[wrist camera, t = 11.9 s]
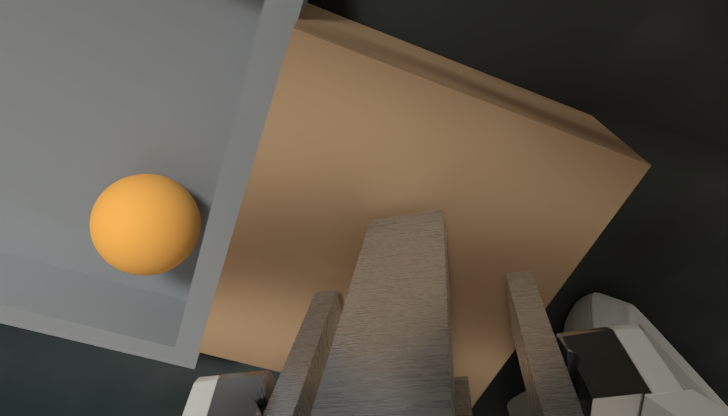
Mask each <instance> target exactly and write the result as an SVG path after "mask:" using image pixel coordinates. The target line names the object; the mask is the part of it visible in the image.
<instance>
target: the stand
mask: <svg viewBox="0 0 728 416" xmlns="http://www.w3.org/2000/svg"><path fill="white" fill-rule="evenodd" d="M650 167H651V165H650V164H649V163H648V162H647V161H645V160H644V159H643V158H642V157H641V156H639V155H638V154H637V153H636V152H635V151H633V150H632V149H631V148H630V147H629V146H627V145H626V144H625V143H624V142H623V141H622V140H620V139H619V138H618V137H617V136H616V135H614V134H613V133H612V132H611V131H610V130H608V129H607V128H606V127H605V126H604V125H602V124H601V123H600V122H599V121H598V120H596V119H595V118H594V117H593V116H592V115H589V114H587V113H584V112H582V111H579V110H576V109H574V108H571V107H569V106H566V105H564V104H561V103H559V102H556V101H554V100H551V99H549V98H546V97H544V96H541V95H539V94H536V93H534V92H531V91H529V90H526V89H524V88H521V87H518V86H516V85H513V84H511V83H508V82H506V81H503V80H501V79H498V78H496V77H493V76H491V75H488V74H486V73H483V72H481V71H478V70H476V69H473V68H471V67H468V66H465V65H463V64H460V63H458V62H455V61H453V60H450V59H448V58H445V57H443V56H440V55H438V54H435V53H433V52H430V51H428V50H425V49H423V48H420V47H418V46H415V45H413V44H410V43H407V42H405V41H402V40H400V39H397V38H395V37H392V36H390V35H387V34H385V33H382V32H380V31H377V30H375V29H372V28H370V27H367V26H365V25H362V24H360V23H357V22H355V21H352V20H349V19H347V18H344V17H342V16H339V15H337V14H334V13H332V12H329V11H327V10H324V9H322V8H319V7H317V6H314V5H312V4H309V3H307V5H306V6H305V8H304V10H303V11H302V13H301V15H300V17H299V18H298V20H297V22H296V23H295V25H294V27H293V29H292V33H291V36H290V39H289V43H288V46H287V50H286V53H285V57H284V60H283V63H282V67H281V70H280V74H279V77H278V80H277V84H276V87H275V91H274V94H273V98H272V101H271V104H270V108H269V111H268V115H267V118H266V121H265V125H264V128H263V132H262V135H261V138H260V142H259V145H258V149H257V152H256V156H255V159H254V162H253V166H252V169H251V173H250V176H249V179H248V183H247V186H246V190H245V193H244V197H243V200H242V203H241V207H240V210H239V214H238V217H237V220H236V224H235V227H234V231H233V234H232V237H231V241H230V244H229V248H228V251H227V255H226V258H225V261H224V265H223V268H222V272H221V275H220V278H219V282H218V285H217V289H216V292H215V296H214V299H213V302H212V306H211V309H210V313H209V316H208V319H207V323H206V326H205V330H204V333H203V336H202V340H201V343H200V347H199V350H198V352H200V353H204V354H208V355H212V356H216V357H220V358H224V359H228V360H232V361H237V362H241V363H245V364H249V365H253V366H257V367H261V368H265V369H269V370H273V371H277V372H281V371H282V369H283V367H284V364H285V362H286V360H287V357H288V355H289V353H290V350H291V348H292V345H293V343H294V341H295V338H296V336H297V334H298V331H299V329H300V327H301V324H302V322H303V320H304V317H305V315H306V312H307V310H308V308H309V305H310V303H311V301H312V298H313V296H314V294H315V293H317V292H327V291H337V295H338V300H339V304H340V308H341V312H342V311H343V307H344V304H345V301H346V298H347V294H348V291H349V288H350V284H351V281H352V278H353V275H354V271H355V268H356V265H357V262H358V258H359V255H360V252H361V249H362V245H363V242H364V239H365V236H366V232H367V229H368V226H369V223H370V219H378V218H386V217H393V216H401V215H409V214H416V213H424V212H432V211H439V210H443V213H444V220H445V226H446V234H447V253H448V272H449V291H450V310H451V329H452V348H453V367H454V377H463V376H468V381H469V388H470V395H471V405H472V407H473V405H474V404H475V403H476V401H477V400H478V399H479V397H480V396H481V395H482V393H483V392H484V391H485V389H486V388H487V387H488V385H489V384H490V383H491V381H492V380H493V379H494V377H495V376H496V374H497V373H498V372H499V370H500V369H501V368H502V366H503V365H504V364H505V362H506V361H507V360H508V358H509V357H510V356H511V354H512V353H513V352H514V350H515V349H516V347H515V343H514V339H513V335H512V327H511V318H510V309H509V299H508V290H507V281H506V273H512V272H521V271H531V273H532V276H533V278H534V281H535V284H536V286H537V289H538V292H539V295H540V297H541V300H542V303H543V305H544V308H546V307H547V306H548V304H549V303H550V302H551V300H552V299H553V298H554V296H555V295H556V294H557V292H558V291H559V289H560V288H561V287H562V285H563V284H564V283H565V281H566V280H567V279H568V277H569V276H570V275H571V273H572V272H573V271H574V269H575V268H576V267H577V265H578V264H579V263H580V261H581V260H582V258H583V257H584V256H585V254H586V253H587V252H588V250H589V249H590V248H591V246H592V245H593V244H594V242H595V241H596V240H597V238H598V237H599V236H600V234H601V233H602V231H603V230H604V229H605V227H606V226H607V225H608V223H609V222H610V221H611V219H612V218H613V217H614V215H615V214H616V213H617V211H618V210H619V209H620V207H621V206H622V205H623V203H624V202H625V200H626V199H627V198H628V196H629V195H630V194H631V192H632V191H633V190H634V188H635V187H636V186H637V184H638V183H639V182H640V180H641V179H642V178H643V176H644V175H645V174H646V172H647V171H648V169H649V168H650Z"/></svg>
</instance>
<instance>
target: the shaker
mask: <svg viewBox="0 0 728 416" xmlns="http://www.w3.org/2000/svg"><path fill="white" fill-rule="evenodd" d="M506 281H507V290H508V299H509V309H510V318H511V327H512V335H513V339H514V343H515V347H516V351H517V356H518V360H519V364H520V368H521V372H522V377H523V381H524V385H525V389H526V393H527V397H528V402H529V406H530V410H531V414H532V416H584V414H583V411H582V409H581V406H580V403H579V400H578V398H577V395H576V392H575V390H574V387H573V384H572V381H571V379H570V376H569V373H568V371H567V368H566V365H565V362H564V360H563V357H562V354H561V352H560V349H559V346H558V343H557V341H556V338H555V335H554V333H553V330H552V327H551V324H550V322H549V319H548V316H547V314H546V311H545V308H544V305H543V303H542V300H541V297H540V295H539V292H538V289H537V286H536V284H535V281H534V278H533V276H532V273H531V271H521V272H512V273H506ZM263 416H472V405H471V395H470V388H469V381H468V376H463V377H454V367H453V348H452V329H451V310H450V291H449V272H448V253H447V234H446V226H445V220H444V213H443V210H439V211H432V212H424V213H416V214H409V215H401V216H393V217H386V218H378V219H370V223H369V226H368V229H367V232H366V236H365V239H364V242H363V245H362V249H361V252H360V255H359V258H358V262H357V265H356V268H355V271H354V275H353V278H352V281H351V284H350V288H349V291H348V294H347V298H346V301H345V304H344V307H343V311H342V312H341V308H340V304H339V300H338V295H337V291H327V292H317V293H315V294H314V296H313V298H312V301H311V303H310V305H309V308H308V310H307V312H306V315H305V317H304V320H303V322H302V324H301V327H300V329H299V331H298V334H297V336H296V338H295V341H294V343H293V345H292V348H291V350H290V353H289V355H288V357H287V360H286V362H285V364H284V367H283V369H282V371H281V374H280V376H279V378H278V381H277V383H276V386H275V388H274V390H273V393H272V395H271V397H270V400H269V402H268V404H267V407H266V409H265V411H264V414H263Z"/></svg>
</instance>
